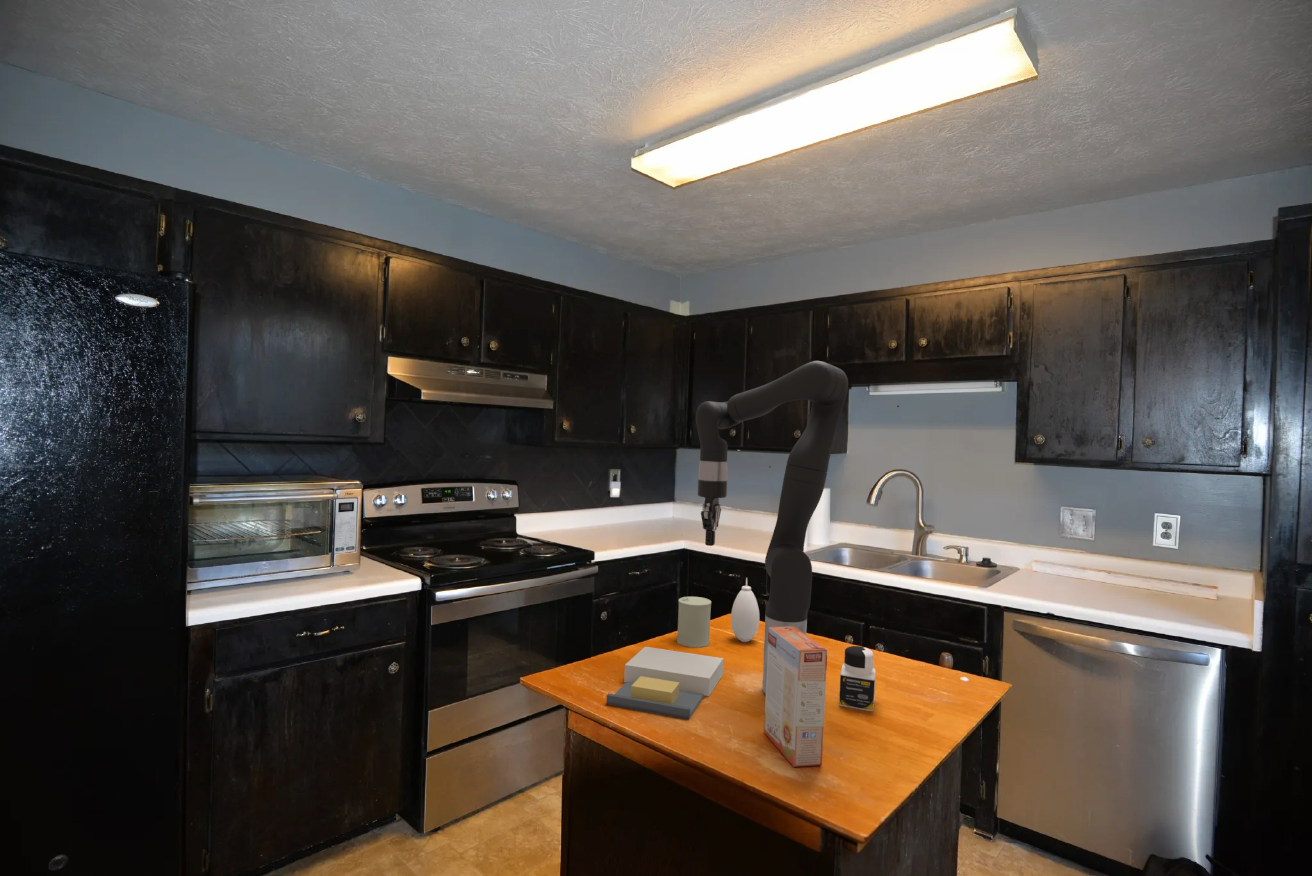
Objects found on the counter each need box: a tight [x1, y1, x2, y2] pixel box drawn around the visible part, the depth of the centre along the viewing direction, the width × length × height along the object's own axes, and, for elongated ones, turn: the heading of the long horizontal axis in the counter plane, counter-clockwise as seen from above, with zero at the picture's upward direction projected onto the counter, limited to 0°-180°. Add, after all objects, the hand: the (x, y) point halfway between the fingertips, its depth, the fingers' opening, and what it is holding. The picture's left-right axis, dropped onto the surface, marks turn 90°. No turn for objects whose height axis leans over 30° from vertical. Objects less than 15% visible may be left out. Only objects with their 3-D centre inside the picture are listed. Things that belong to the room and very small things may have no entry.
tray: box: [606, 682, 705, 721], centre depth 140 cm, size 18×12×2 cm, turn 72°
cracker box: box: [763, 626, 828, 768], centre depth 121 cm, size 14×6×21 cm, turn 12°
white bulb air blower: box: [730, 577, 760, 643], centre depth 183 cm, size 8×8×18 cm
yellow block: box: [631, 676, 680, 705], centre depth 140 cm, size 9×6×3 cm, turn 72°
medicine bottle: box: [838, 645, 877, 712], centre depth 143 cm, size 7×7×12 cm
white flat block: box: [623, 646, 724, 697], centre depth 153 cm, size 20×14×4 cm
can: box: [676, 596, 712, 648], centre depth 181 cm, size 9×9×12 cm
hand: (710, 545), depth 169 cm, fingers closed
